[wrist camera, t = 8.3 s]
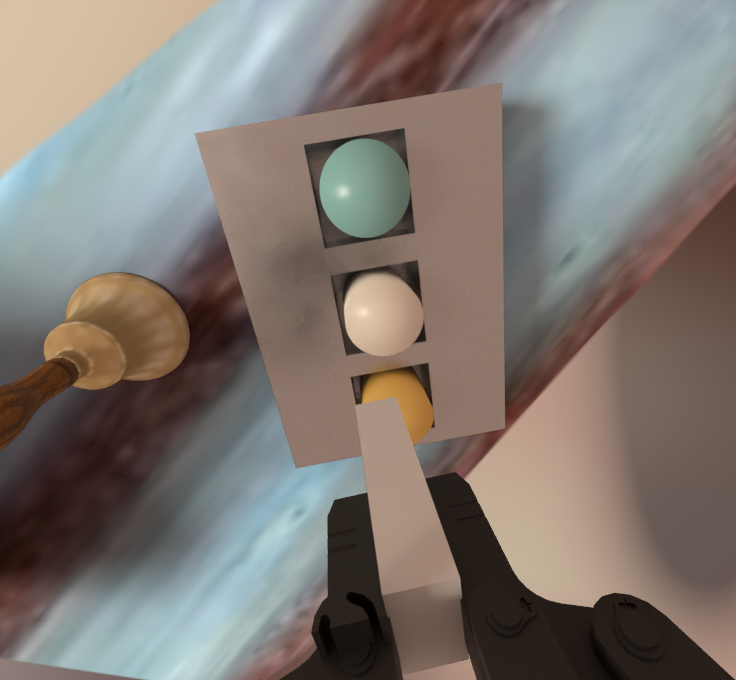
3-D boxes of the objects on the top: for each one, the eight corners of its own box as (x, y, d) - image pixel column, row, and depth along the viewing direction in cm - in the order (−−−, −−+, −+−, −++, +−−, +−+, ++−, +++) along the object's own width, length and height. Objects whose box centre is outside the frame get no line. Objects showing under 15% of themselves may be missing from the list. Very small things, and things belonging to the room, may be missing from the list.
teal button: (330, 236, 23) (329, 244, 19) (315, 157, 21) (310, 147, 17) (400, 224, 23) (414, 229, 19) (390, 144, 21) (404, 131, 17)
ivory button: (349, 335, 25) (352, 362, 21) (337, 272, 24) (338, 288, 19) (412, 324, 26) (427, 348, 21) (404, 261, 24) (419, 274, 20)
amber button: (364, 416, 28) (370, 453, 24) (355, 364, 26) (359, 396, 22) (421, 405, 28) (436, 441, 24) (415, 353, 26) (430, 383, 22)
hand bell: (93, 248, 24) (-307, 330, 9) (210, 313, 26) (46, 463, 11) (51, 344, 26) (-326, 539, 11) (162, 396, 28) (-27, 614, 13)
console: (301, 431, 30) (296, 467, 26) (221, 145, 22) (194, 133, 18) (482, 397, 31) (505, 428, 27) (470, 104, 22) (501, 82, 18)
